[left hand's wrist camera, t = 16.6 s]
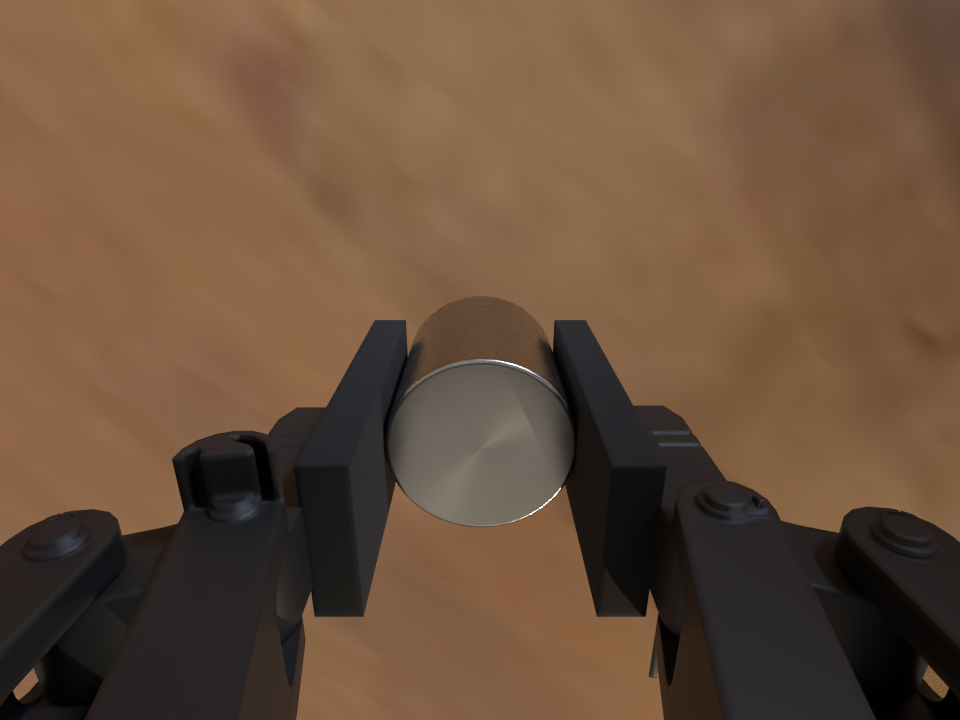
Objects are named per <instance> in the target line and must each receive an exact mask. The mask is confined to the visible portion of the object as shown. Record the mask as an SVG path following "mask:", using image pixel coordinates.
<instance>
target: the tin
mask: <svg viewBox="0 0 960 720" xmlns="http://www.w3.org/2000/svg"><path fill="white" fill-rule="evenodd" d="M576 447H577V427H576V423H575V419H574V416H573V413H572V410H571V407H570V404H569V401H568V398H567V395H566V391H565V388H564V385H563V382H562V379H561V376H560V373H559V370H558V367H557V364H556V361H555V358H554V355H553V352H552V349H551V346H550V343H549V341H548V338H547V336H546V334H545V332H544V330H543V329H542V327H541V326H540V324H539V323H538V322H537V321H536V320H535V319H534V318H533V317H532V316H531V315H530V314H529V313H528V312H526V311H525V310H524V309H522V308H521V307H519V306H517V305H515V304H513V303H511V302H508V301H506V300H503V299H499V298H494V297H486V296H481V297H468V298H463V299H460V300H456V301H454V302H451V303H449V304H447V305H445V306H443V307H442V308H440V309H438V310H437V311H436V312H434V313H433V314H432V315H431V316H430V317H429V318H428V319H427V320H426V321H425V322H424V323H423V325H422V326H421V327H420V329H419V330H418V332H417V334H416V336H415V338H414V341H413V343H412V346H411V349H410V353H409V356H408V359H407V362H406V365H405V368H404V372H403V375H402V378H401V381H400V384H399V387H398V390H397V394H396V397H395V400H394V403H393V406H392V409H391V413H390V416H389V419H388V423H387V427H386V433H385V451H386V457H387V461H388V465H389V467H390V470H391V472H392V475H393V477H394V478H395V480H396V482H397V484H398V485H399V487H400V488H401V489H402V491H403V492H404V493H405V494H406V496H407V497H408V498H409V499H410V500H411V501H412V502H414V503H415V504H416V505H417V506H419V507H420V508H421V509H423V510H424V511H426V512H428V513H429V514H431V515H433V516H435V517H437V518H439V519H441V520H444V521H447V522H450V523H453V524H458V525H463V526H471V527H492V526H500V525H505V524H509V523H513V522H516V521H518V520H521V519H524V518H526V517H528V516H530V515H532V514H534V513H535V512H537V511H539V510H540V509H542V508H543V507H544V506H545V505H547V504H548V503H549V502H550V501H551V500H552V499H553V498H554V497H555V496H556V495H557V494H558V493H559V492H560V491H561V489H562V488H563V486H564V485H565V484H566V482H567V480H568V478H569V476H570V474H571V472H572V470H573V467H574V464H575V459H576Z"/></svg>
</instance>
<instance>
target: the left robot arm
mask: <svg viewBox="0 0 960 720" xmlns="http://www.w3.org/2000/svg"><path fill="white" fill-rule="evenodd" d="M553 355H554V358H555V361H556V364H557V367H558V370H559V373H560V376H561V379H562V382H563V385H564V388H565V391H566V395H567V398H568V401H569V404H570V407H571V410H572V413H573V416H574V419H575V423H576V427H577V447H576V459H575V464H574V467H573V470H572V472H571V474H570V476H569V478H568V480H567V482H566V484H565V486H566V490H567V494H568V498H569V502H570V506H571V511H572V515H573V519H574V523H575V527H576V531H577V535H578V540H579V544H580V548H581V552H582V556H583V560H584V565H585V569H586V573H587V577H588V581H589V585H590V590H591V594H592V598H593V602H594V606H595V610H596V615H597V617H646V610H647V603H648V596H649V589H650V591H651V593H652V596H653V599H654V601H655V604H656V607H657V609H658V612H659V613H658V619H657V626H656V632H655V639H654V645H653V652H652V658H651V665H650V672H649V677H652V678H657V672H658V673H659V681H660V690H661V698H662V706H663V715H664V720H960V542H959V541H958V540H956V539H955V538H954V537H953V536H951V535H949V534H948V533H946V532H945V531H943V530H942V529H940V528H939V527H937V526H935V525H934V524H932V523H930V522H927V521H925V520H923V519H920V518H918V517H916V516H915V515H913V514H910V513H907V512H903V511H901V512H900V511H898V510H895V509H890V508H877V507H863V508H858V509H853V510H851V511H850V512H849V513H848V514H846V515H845V516H844V518H843V521H842V525H841V528H840V532H839V533H835V532H830V531H825V530H820V529H815V528H810V527H805V526H800V525H795V524H792V523H788V522H784V521H781V520H780V518H779V516H778V514H777V512H776V510H775V509H774V507H773V506H772V505H771V504H770V502H769V501H768V500H767V499H766V498H764V497H763V496H761V495H760V494H758V493H757V492H755V491H754V490H752V489H750V488H747V487H745V486H742V485H740V484H737V483H735V482H730V481H727V480H726V479H725V478H724V476H723V475H722V473H721V472H720V470H719V469H718V468H717V466H716V465H715V463H714V462H713V461H712V459H711V458H710V456H709V455H708V453H707V452H706V451H705V449H704V448H703V447H701V444H700V442H699V441H698V439H697V438H696V436H695V435H692V431H691V429H690V428H689V427H688V425H687V424H686V422H685V421H684V420H683V418H682V417H680V416H679V415H677V414H676V413H674V412H672V411H671V410H669V409H668V408H666V407H665V406H633V405H632V403H631V401H630V399H629V397H628V396H627V394H626V392H625V390H624V388H623V387H622V385H621V383H620V381H619V379H618V378H617V376H616V374H615V372H614V370H613V369H612V367H611V365H610V363H609V361H608V360H607V358H606V356H605V354H604V353H603V351H602V349H601V347H600V345H599V344H598V342H597V340H596V338H595V336H594V335H593V333H592V331H591V329H590V327H589V326H588V324H587V322H586V320H555V323H554V342H553ZM407 359H408V354H407V335H406V320H375V321H374V323H373V325H372V326H371V328H370V330H369V332H368V334H367V335H366V337H365V339H364V341H363V343H362V344H361V346H360V348H359V350H358V351H357V353H356V355H355V357H354V359H353V360H352V362H351V364H350V366H349V368H348V369H347V371H346V373H345V375H344V377H343V378H342V380H341V382H340V384H339V386H338V387H337V389H336V391H335V393H334V395H333V396H332V398H331V400H330V402H329V404H328V405H327V407H326V408H296V409H294V410H293V411H291V412H290V413H288V414H287V415H285V416H283V417H282V418H280V419H279V420H278V421H277V422H276V424H275V425H274V427H273V428H272V430H271V431H270V432H269V434H268V435H267V434H263V433H259V432H255V431H232V432H226V433H220V434H215V435H212V436H209V437H206V438H203V439H200V440H197V441H195V442H194V443H192V444H190V445H188V446H187V447H185V448H183V449H182V450H181V451H180V452H179V453H178V454H177V455H176V456H175V457H174V458H173V459H172V461H173V465H174V470H175V474H176V478H177V482H178V487H179V491H180V495H181V500H182V504H183V508H184V513H183V515H182V517H181V519H180V521H179V523H178V524H175V525H171V526H167V527H163V528H158V529H153V530H148V531H143V532H138V533H133V534H128V535H123V536H122V533H121V530H120V526H119V523H118V519H117V518H115V517H114V516H113V515H112V514H111V513H110V512H105V511H100V510H95V509H92V510H79V511H70V512H64V513H63V514H57V515H54V516H50V517H48V518H46V519H45V520H43V521H40V522H38V523H36V524H33V525H31V526H29V527H27V528H26V529H24V530H23V531H21V532H19V533H18V534H16V535H15V536H13V537H12V538H10V539H9V540H8V541H6V542H5V543H4V544H3V545H1V546H0V720H296V716H297V708H298V699H299V691H300V682H301V674H302V665H303V657H304V648H305V633H304V626H303V619H302V614H303V611H304V608H305V606H306V603H307V600H308V597H309V595H310V592H311V593H312V600H313V607H314V614H315V617H363V616H364V612H365V608H366V604H367V600H368V596H369V591H370V587H371V583H372V579H373V575H374V571H375V566H376V562H377V558H378V554H379V550H380V546H381V541H382V537H383V533H384V529H385V525H386V521H387V516H388V512H389V508H390V504H391V500H392V496H393V491H394V487H395V483H396V480H395V478H394V477H393V475H392V472H391V470H390V467H389V465H388V461H387V457H386V451H385V433H386V427H387V423H388V419H389V416H390V413H391V409H392V406H393V403H394V400H395V397H396V394H397V390H398V387H399V384H400V381H401V378H402V375H403V372H404V368H405V365H406V362H407ZM928 665H929V666H930V667H931V668H932V669H933V670H934V671H935V672H936V674H937V675H938V676H939V677H940V678H941V679H942V680H943V681H944V682H945V683H946V685H947V686H948V687H949V690H948V692H947V694H946V696H945V697H944V698H941V697H940V696H939V695H938V694H937V693H936V692H935V691H933V690H932V689H931V687H930V686H929V685H928V684H927V683H926V682H925V681H924V679H923V677H924V674H925V672H926V669H927V667H928ZM33 668H34V670H35V673H36V675H37V678H38V680H39V681H38V682H37V683H36V685H35V686H34V687H33V688H32V689H31V690H30V691H29V692H28V693H27V694H26V695H25V696H23V697H22V698H21V699H20V700H17V699H16V697H15V695H14V693H13V690H14V689H15V687H16V686H17V685H18V684H19V683H20V682H21V681H22V680H23V679H24V677H25V676H26V675H27V674H28V673H29V672H30V671H31V670H32V669H33Z"/></svg>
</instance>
